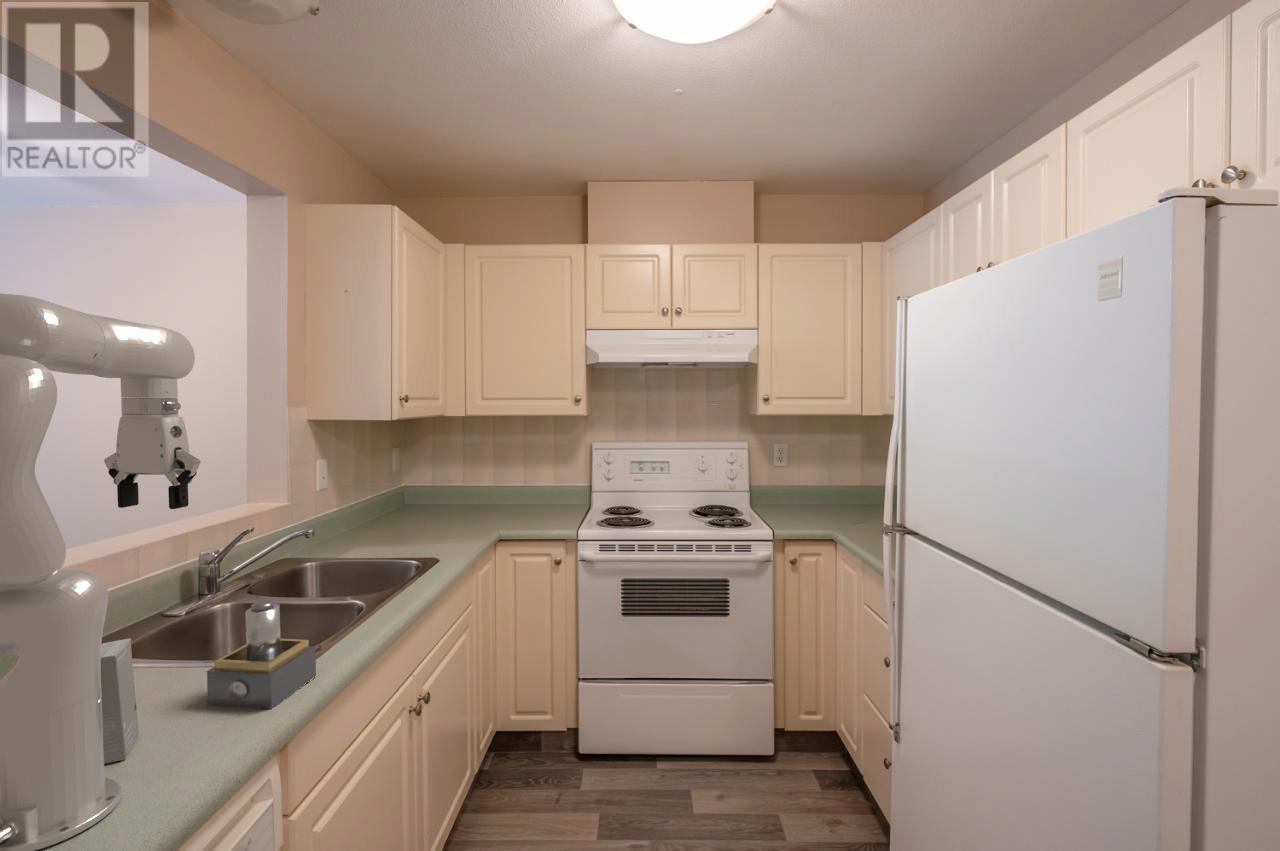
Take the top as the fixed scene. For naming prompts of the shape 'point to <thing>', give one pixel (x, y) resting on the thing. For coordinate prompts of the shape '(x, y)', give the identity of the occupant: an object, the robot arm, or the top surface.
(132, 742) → the skincare box
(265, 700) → the grey gold trimmed box
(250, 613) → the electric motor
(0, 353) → the robot arm
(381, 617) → the top surface
